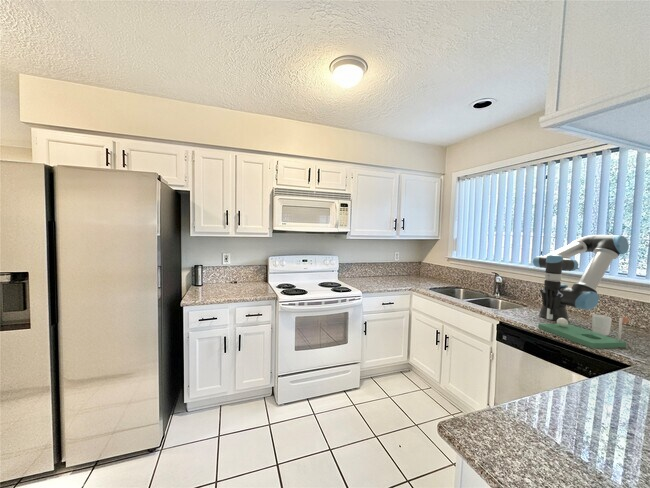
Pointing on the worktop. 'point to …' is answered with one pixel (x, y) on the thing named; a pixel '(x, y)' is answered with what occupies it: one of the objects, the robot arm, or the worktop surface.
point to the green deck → (586, 335)
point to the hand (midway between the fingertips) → (549, 318)
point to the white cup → (601, 324)
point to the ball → (562, 322)
